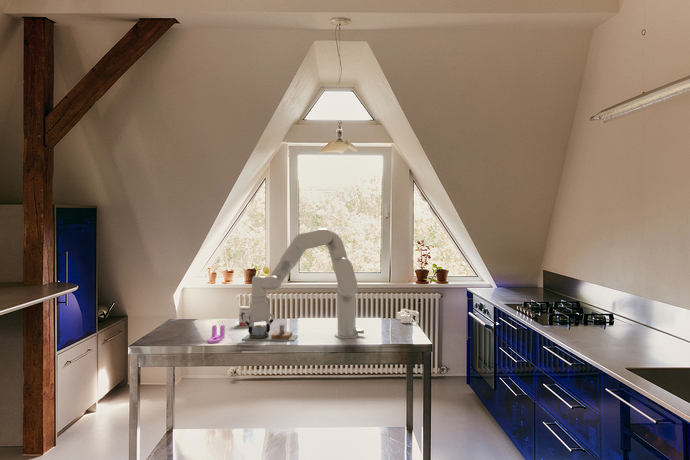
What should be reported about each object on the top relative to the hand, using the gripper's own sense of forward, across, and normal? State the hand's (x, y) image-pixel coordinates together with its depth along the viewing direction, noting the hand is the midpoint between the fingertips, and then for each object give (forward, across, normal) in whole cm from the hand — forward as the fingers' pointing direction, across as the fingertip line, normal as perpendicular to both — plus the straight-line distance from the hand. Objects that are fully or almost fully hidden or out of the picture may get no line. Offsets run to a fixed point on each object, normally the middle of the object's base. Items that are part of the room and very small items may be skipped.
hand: (259, 333), depth 244 cm
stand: (+2, -10, +6) cm, 12 cm away
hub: (+2, 0, 0) cm, 2 cm away
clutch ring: (+1, 0, 0) cm, 1 cm away
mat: (+3, -5, +3) cm, 7 cm away
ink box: (+3, -2, -34) cm, 34 cm away
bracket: (+3, +21, -5) cm, 22 cm away
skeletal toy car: (+3, -94, -3) cm, 94 cm away
